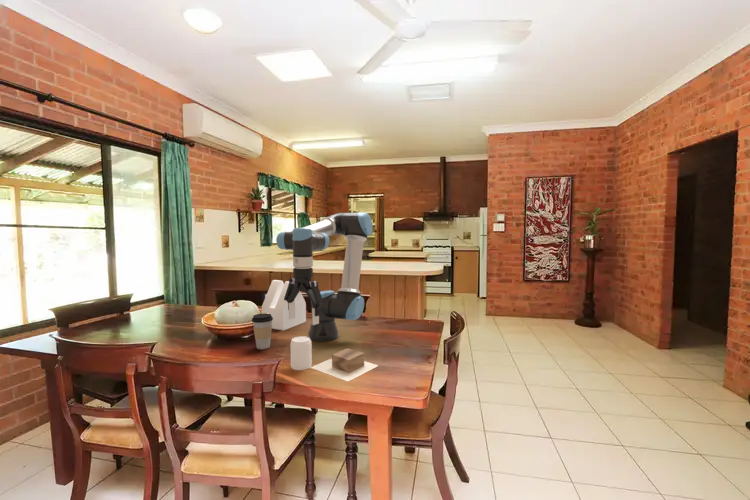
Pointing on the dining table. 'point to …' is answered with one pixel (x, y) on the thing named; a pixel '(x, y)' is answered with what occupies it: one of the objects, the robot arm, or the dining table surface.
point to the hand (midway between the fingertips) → (303, 321)
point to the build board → (328, 369)
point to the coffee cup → (262, 330)
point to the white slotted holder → (283, 306)
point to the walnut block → (348, 360)
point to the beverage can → (301, 353)
